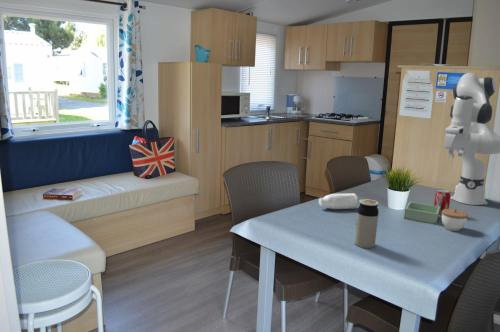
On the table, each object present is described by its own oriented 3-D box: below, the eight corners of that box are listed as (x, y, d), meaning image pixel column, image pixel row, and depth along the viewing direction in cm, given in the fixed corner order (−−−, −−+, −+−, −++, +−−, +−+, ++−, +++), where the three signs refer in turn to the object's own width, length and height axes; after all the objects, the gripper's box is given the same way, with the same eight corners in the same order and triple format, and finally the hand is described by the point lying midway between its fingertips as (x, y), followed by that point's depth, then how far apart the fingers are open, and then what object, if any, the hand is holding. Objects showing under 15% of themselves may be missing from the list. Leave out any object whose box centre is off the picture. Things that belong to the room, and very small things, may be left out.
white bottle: (316, 207, 215) (317, 192, 214) (350, 206, 219) (351, 191, 218) (321, 211, 208) (323, 196, 206) (356, 210, 212) (358, 195, 210)
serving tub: (408, 210, 215) (409, 201, 214) (438, 216, 208) (440, 206, 207) (404, 218, 203) (405, 208, 202) (436, 224, 196) (437, 214, 195)
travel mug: (378, 244, 168) (382, 202, 164) (369, 250, 162) (373, 206, 159) (360, 239, 173) (364, 197, 170) (350, 244, 168) (355, 201, 164)
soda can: (449, 216, 209) (452, 193, 207) (434, 214, 210) (437, 191, 208) (446, 211, 216) (449, 189, 213) (431, 210, 217) (434, 188, 215)
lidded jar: (434, 225, 194) (437, 206, 192) (452, 223, 198) (454, 204, 196) (452, 233, 184) (455, 213, 182) (470, 231, 188) (474, 211, 186)
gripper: (463, 127, 213) (459, 154, 215) (443, 129, 200) (439, 157, 202) (475, 129, 208) (471, 156, 210) (456, 130, 195) (452, 159, 198)
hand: (455, 157), depth 206 cm, fingers open, 8 cm apart
